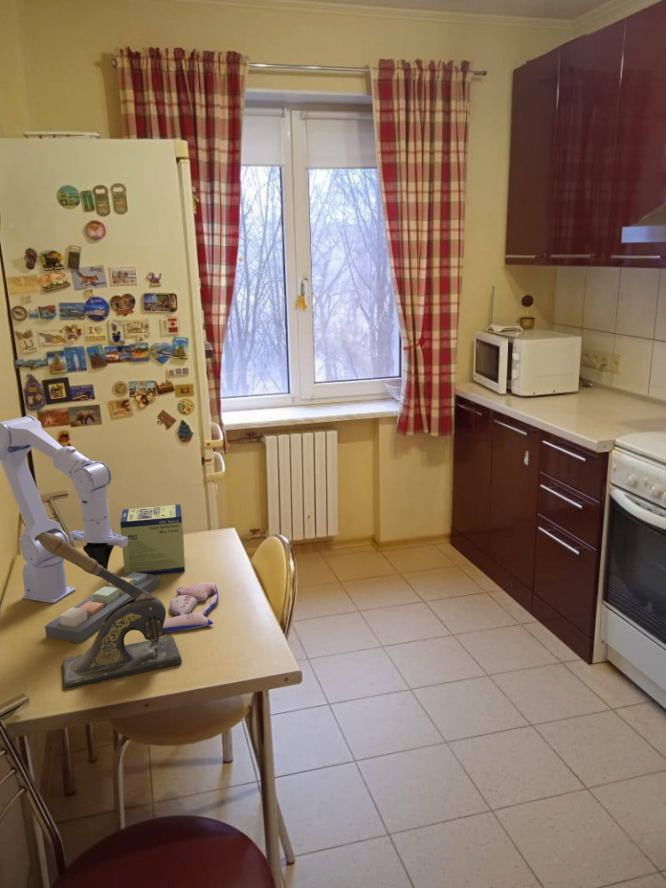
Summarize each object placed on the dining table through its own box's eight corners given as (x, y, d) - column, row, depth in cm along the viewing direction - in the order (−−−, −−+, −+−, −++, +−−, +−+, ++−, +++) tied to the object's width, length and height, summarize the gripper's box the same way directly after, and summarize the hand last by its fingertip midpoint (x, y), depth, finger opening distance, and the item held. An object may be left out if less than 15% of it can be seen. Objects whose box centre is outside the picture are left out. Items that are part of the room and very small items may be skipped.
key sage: (94, 605, 162) (93, 593, 161) (105, 598, 165) (104, 586, 165) (108, 607, 160) (107, 595, 160) (119, 600, 164) (118, 588, 163)
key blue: (124, 589, 172) (123, 578, 171) (134, 583, 176) (133, 572, 175) (138, 592, 171) (137, 580, 170) (147, 585, 174) (146, 574, 174)
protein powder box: (186, 572, 183) (181, 515, 179) (124, 579, 179) (118, 521, 176) (185, 557, 193) (181, 503, 189) (126, 563, 189) (121, 509, 186)
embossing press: (183, 667, 138) (171, 524, 131) (55, 692, 131) (35, 541, 124) (176, 641, 148) (165, 506, 141) (57, 662, 141) (39, 522, 134)
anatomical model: (154, 638, 151) (224, 628, 154) (153, 625, 150) (223, 616, 154) (154, 596, 170) (216, 588, 173) (153, 585, 169) (215, 578, 173)
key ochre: (109, 595, 167) (108, 583, 166) (120, 588, 170) (119, 576, 170) (123, 597, 165) (122, 585, 165) (134, 590, 169) (132, 578, 168)
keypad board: (46, 636, 151) (44, 626, 150) (130, 580, 178) (129, 571, 178) (80, 643, 148) (79, 632, 147) (160, 584, 175) (159, 575, 175)
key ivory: (60, 628, 151) (59, 615, 151) (73, 619, 155) (71, 607, 154) (75, 630, 150) (74, 618, 149) (88, 622, 154) (86, 609, 153)
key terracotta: (78, 621, 157) (77, 608, 156) (90, 613, 160) (89, 601, 160) (93, 623, 155) (91, 611, 155) (104, 615, 159) (103, 603, 158)
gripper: (133, 514, 158) (139, 569, 161) (82, 507, 163) (88, 562, 167) (114, 524, 152) (119, 582, 155) (60, 517, 157) (67, 573, 160)
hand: (102, 572), depth 160 cm, fingers closed
